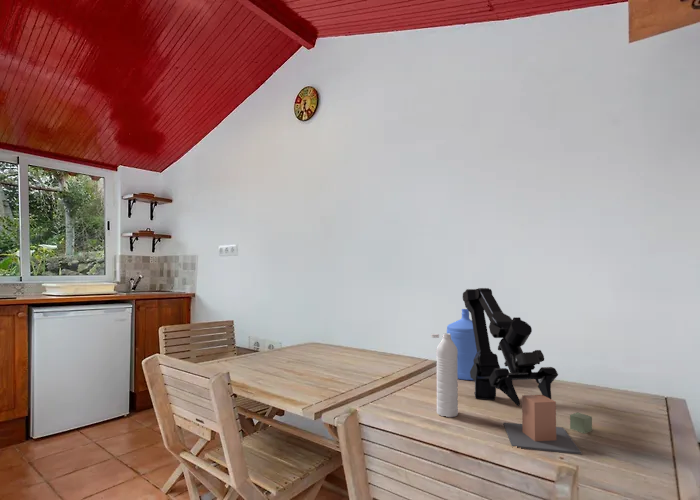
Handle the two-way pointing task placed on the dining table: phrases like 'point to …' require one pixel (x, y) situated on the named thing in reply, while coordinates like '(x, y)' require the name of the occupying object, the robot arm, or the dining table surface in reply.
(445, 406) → the water bottle
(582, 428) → the olive block
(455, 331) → the water jug
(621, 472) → the dining table surface
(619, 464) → the dining table surface
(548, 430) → the pink upright block
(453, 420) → the dining table surface
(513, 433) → the charcoal mat
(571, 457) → the dining table surface
